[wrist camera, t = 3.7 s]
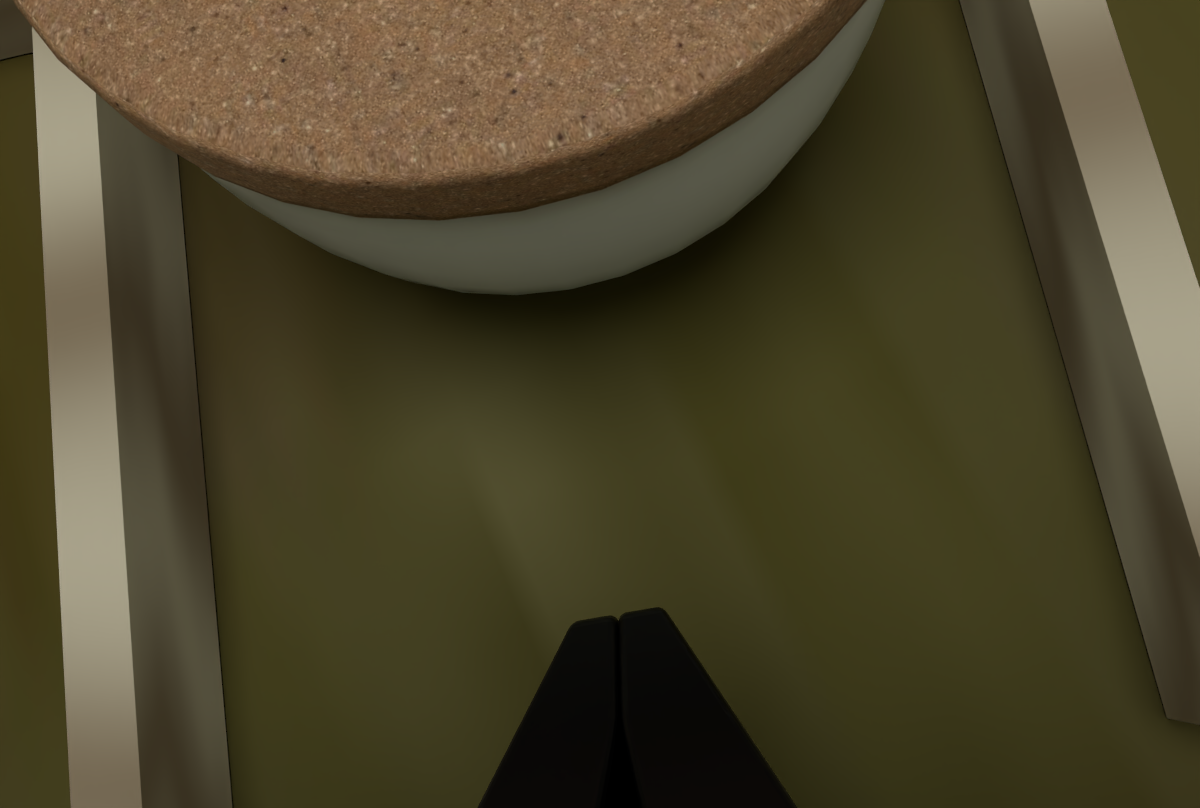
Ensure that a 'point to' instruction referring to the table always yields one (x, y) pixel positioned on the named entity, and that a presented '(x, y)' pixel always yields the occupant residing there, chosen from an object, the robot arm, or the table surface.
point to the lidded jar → (474, 118)
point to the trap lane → (172, 424)
